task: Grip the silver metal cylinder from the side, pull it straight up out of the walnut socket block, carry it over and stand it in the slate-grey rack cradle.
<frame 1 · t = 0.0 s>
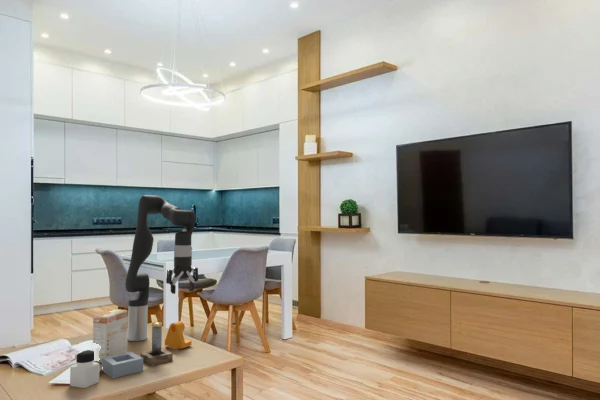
hand: (182, 292, 195), 29 cm above the table, tool pointing down, fingers open, 8 cm apart
coffeecake box: (110, 357, 198), on the table
bracket: (178, 347, 214), on the table
medicine bottle: (84, 384, 166), on the table
rack cradle: (122, 370, 180), on the table
silver metal cylinder: (156, 341, 194), in the socket block
socket block: (156, 360, 194), on the table
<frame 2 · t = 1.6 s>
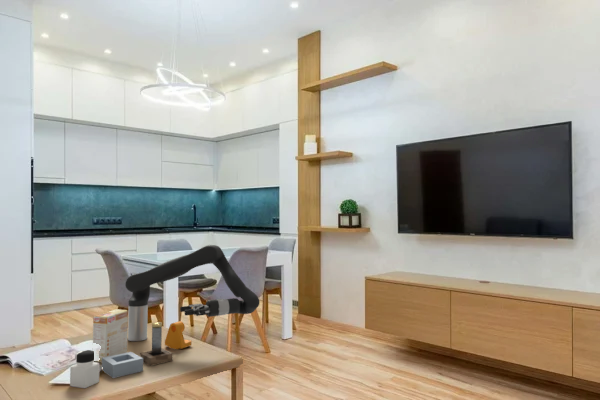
hand: (182, 311, 199), 20 cm above the table, tool horizontal, fingers open, 8 cm apart
nothing on the table moved.
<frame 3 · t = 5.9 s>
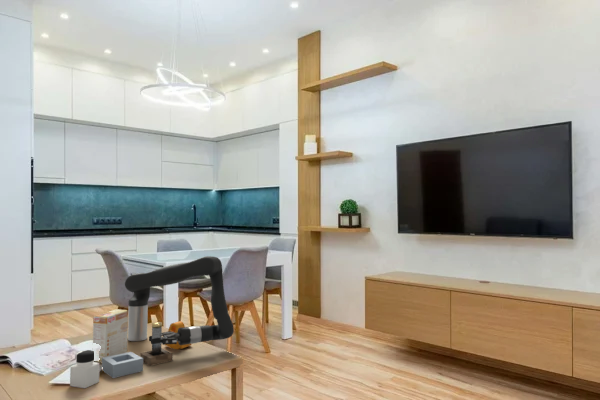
hand: (150, 340, 192), 9 cm above the table, tool horizontal, fingers closed on silver metal cylinder, 4 cm apart
silver metal cylinder: (156, 341, 194), in the socket block, touching gripper
everything else where it was.
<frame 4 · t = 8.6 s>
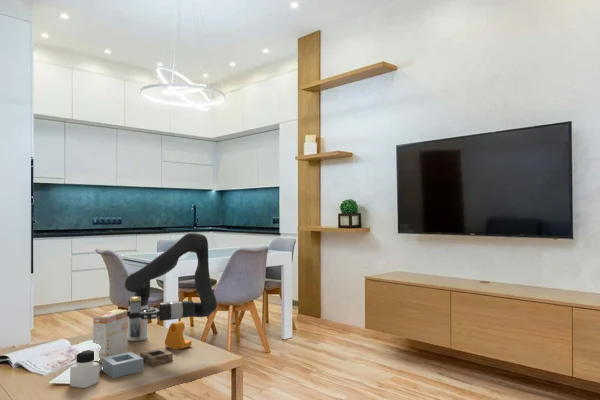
hand: (128, 315, 184), 22 cm above the table, tool horizontal, fingers closed on silver metal cylinder, 4 cm apart
silver metal cylinder: (135, 316, 185), point 21 cm above the table, touching gripper
everything else where it was.
when the fingers open (12 cm above the table, at t = 11.2 s): silver metal cylinder drops 1 cm, resting on rack cradle.
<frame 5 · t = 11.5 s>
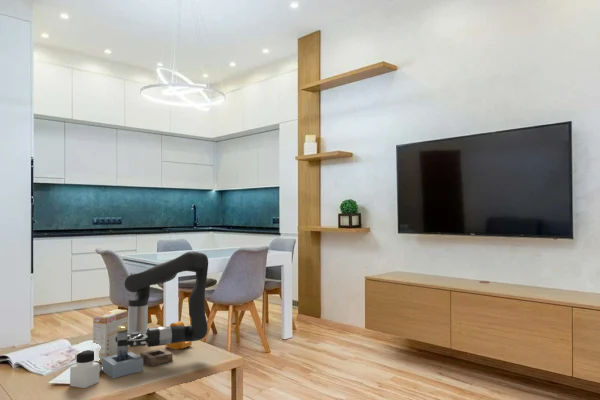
hand: (116, 341, 180), 12 cm above the table, tool horizontal, fingers open, 6 cm apart
silver metal cylinder: (122, 346, 181), in the rack cradle, point 10 cm above the table
everything else where it was.
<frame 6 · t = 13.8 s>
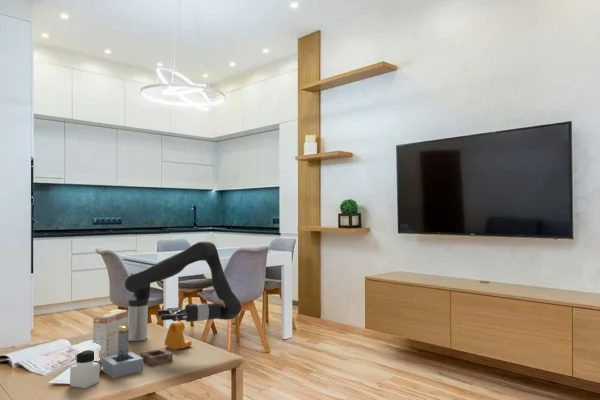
hand: (159, 315, 191), 20 cm above the table, tool horizontal, fingers open, 8 cm apart
nothing on the table moved.
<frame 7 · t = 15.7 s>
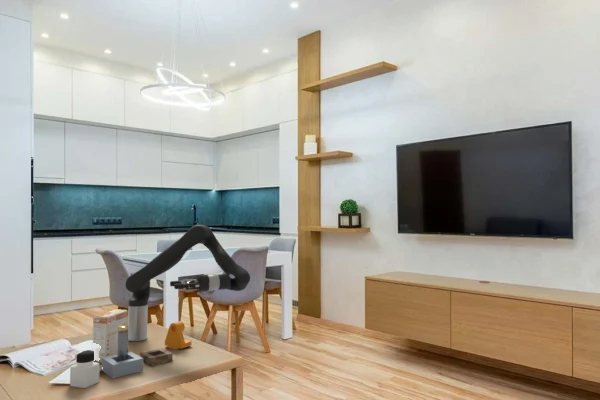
hand: (172, 285, 198), 32 cm above the table, tool horizontal, fingers open, 8 cm apart
nothing on the table moved.
at the end: silver metal cylinder 0.1 cm off-centre on the rack cradle, point 9.5 cm above the rack cradle's base; silver metal cylinder tilted 1°; the gripper is holding nothing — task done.
